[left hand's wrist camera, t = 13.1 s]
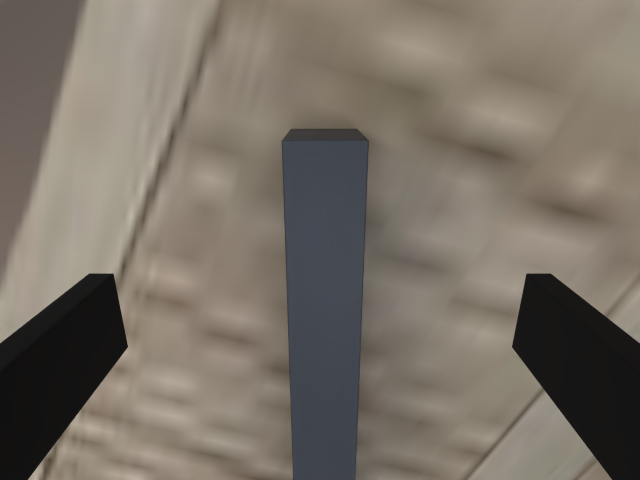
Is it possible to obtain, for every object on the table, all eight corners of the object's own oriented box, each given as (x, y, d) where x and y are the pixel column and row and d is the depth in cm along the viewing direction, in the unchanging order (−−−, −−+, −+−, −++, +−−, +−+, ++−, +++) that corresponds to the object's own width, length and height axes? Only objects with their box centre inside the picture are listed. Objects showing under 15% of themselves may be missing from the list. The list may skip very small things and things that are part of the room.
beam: (290, 128, 30) (281, 140, 23) (357, 128, 30) (369, 139, 23) (302, 600, 49) (300, 683, 42) (343, 600, 49) (347, 683, 42)
